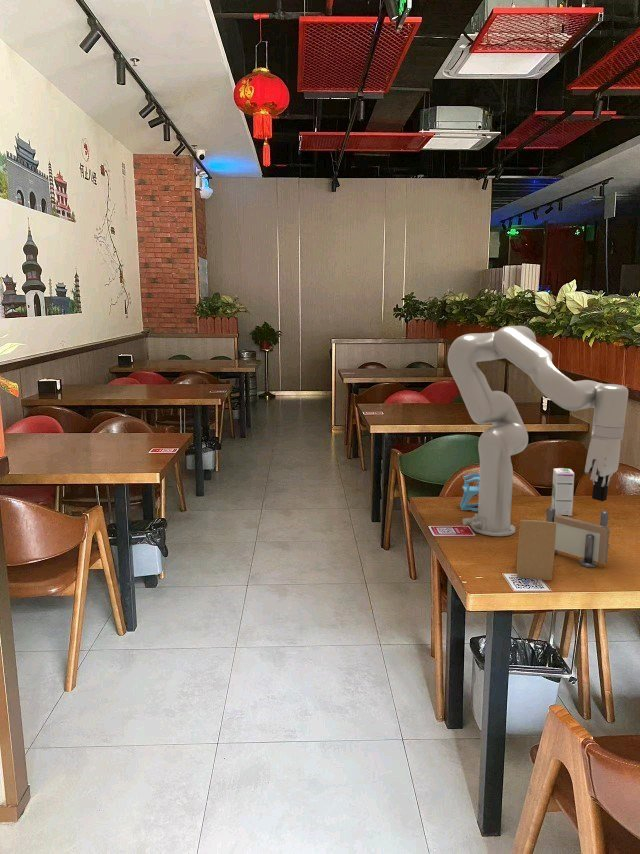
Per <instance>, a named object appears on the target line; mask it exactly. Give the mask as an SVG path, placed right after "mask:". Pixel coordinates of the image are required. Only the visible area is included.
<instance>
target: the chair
mask: <svg viewBox="0 0 640 854" xmlns="http://www.w3.org/2000/svg"><path fill="white" fill-rule="evenodd" d="M462 478H463V480H464V483H463V485H462V486H461V487H462V490H463V494H462V498H461V501H460V505H459V508H460V511H467V510H472V511H471V512H477V511H478V503H479V502H478V503H477V502H475V503H469V502H470V500H471V499H472V498H473V497H474V496H475V495H479V483H480V473H473V472H472V473H470V474H468V475H465V476H462ZM473 482H477V483H478V485H470V483H473ZM475 506H477V507H475Z"/></svg>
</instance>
